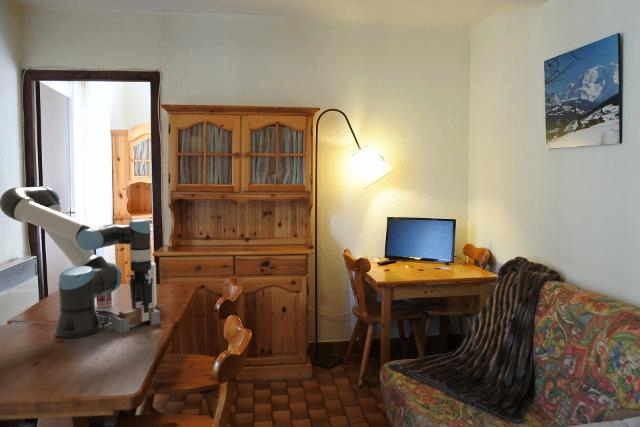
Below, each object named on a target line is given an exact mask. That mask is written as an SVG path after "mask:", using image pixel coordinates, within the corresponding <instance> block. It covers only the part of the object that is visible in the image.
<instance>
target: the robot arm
mask: <svg viewBox="0 0 640 427" xmlns="http://www.w3.org/2000/svg"><path fill="white" fill-rule="evenodd" d="M0 210H1V211H2V213H3V214H4V215H6V217H8V218H11V219H12V220H14V221H17V222H19V223H23V222H26V223H30V224H31V225H34V226H36V227H39V228H41V229H43V230H44V231H45V232H46V234H47V235H48V236H49V237H50V238H51V240H52V241H53V242H54V243H55V245H56V246H57V247H58V248H59V249H60V250H61V251H62V253H63V254H64V255H65V257H66V258H67V259H68V260H69V261H70V262H71V264H72V265H73V267H71V268H68V269H65V270H63V271H62V272H61V273H60V274H59V277H58V278H59V279H58V280H59V281H58V290H59V291H58V292H59V315H58V318H57V321H56V325H55V329H54V330H55V333H54V334H55V336H57V337H58V338H63V339H64V338H67V339H69V338H70V339H71V338H73V339H74V338H75V339H76V338H81V337H87V336H91V335H94V334H97V333H98V332H100V331H101V321H100V319H99V316H98V314H97V310H96V300H95V299H97V297H100V296H103V295H105V294H109V293H111V294H112V292H114V291H116V290H117V289H119V288H120V286H121V283H122V277H123V274H122V271H121V268H120V267H119V266H118V265H117V264H115V263H112V262H107V261H106V259H105V258H104V257H103V256H101V255H97V254H95V253H94V251H95V250H98V249H102V248H106V247H111V246H115V245H129V256H130V257H129V259H130V260H131V261H130V271H131V272H133V274H130V279H131V285H132V299H134V301H135V302H136V308H139V307H141V317H142V321H146V322H148V321H147V320H149V303H152V282H153V279H152V278H149V274H148V271H149V270H150V269H151V261H152V260H151V258H152V249H151V248H152V247H151V233H152V231H151V222H150V221H149V220H147V219H132V220H130V221H129V224H114V223H112V224H111V223H109V224H104V225H102V226H99V227H96V226H93V225H91V224H89V223H86V222H84V221H81V220H78V219H76V218H74V217H71V216H69V215H66V214H63V213H61V212H62V211H61V210H62V207H61V201H60V196H59V195H58V193H57V192H56V191H55V190H54V189H52V188H50V187H48V186H40V185H38V186H37V185H36V186H27V187H25V186H22V187H21V186H20V187H19V186H18V187H17V186H16V187H11V188H9V189H6V191H4V192H3V193H2V195H1V196H0Z"/></svg>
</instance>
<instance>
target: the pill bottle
mask: <svg viewBox="0 0 640 427" xmlns="http://www.w3.org/2000/svg"><path fill="white" fill-rule="evenodd" d="M112 295H113V294H112V292H111V293H109V294H105V295H103V296H100V297H97V298H96V307H98V308H107V307H111V306H112V304H113V299H112Z"/></svg>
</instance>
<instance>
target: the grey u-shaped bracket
mask: <svg viewBox="0 0 640 427" xmlns="http://www.w3.org/2000/svg"><path fill="white" fill-rule="evenodd" d="M110 322H111V323H110V326H111V329H112V330H113V331H115V332H117V333H119V334H123V333H126V332H130V325H129V318H128V317H127V318H122V319H121V318H119V313H118V314H117V313H116V314H114V315H110Z"/></svg>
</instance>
